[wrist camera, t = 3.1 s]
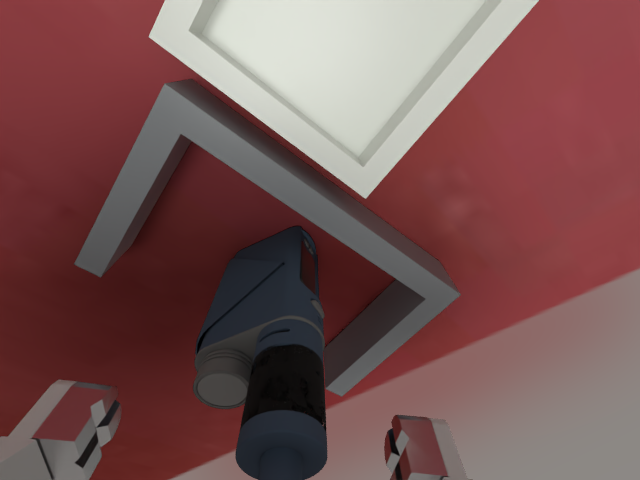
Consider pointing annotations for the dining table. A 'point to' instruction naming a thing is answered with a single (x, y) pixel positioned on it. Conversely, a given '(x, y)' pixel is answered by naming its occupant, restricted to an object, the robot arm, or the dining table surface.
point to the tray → (340, 67)
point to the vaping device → (269, 356)
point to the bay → (293, 190)
